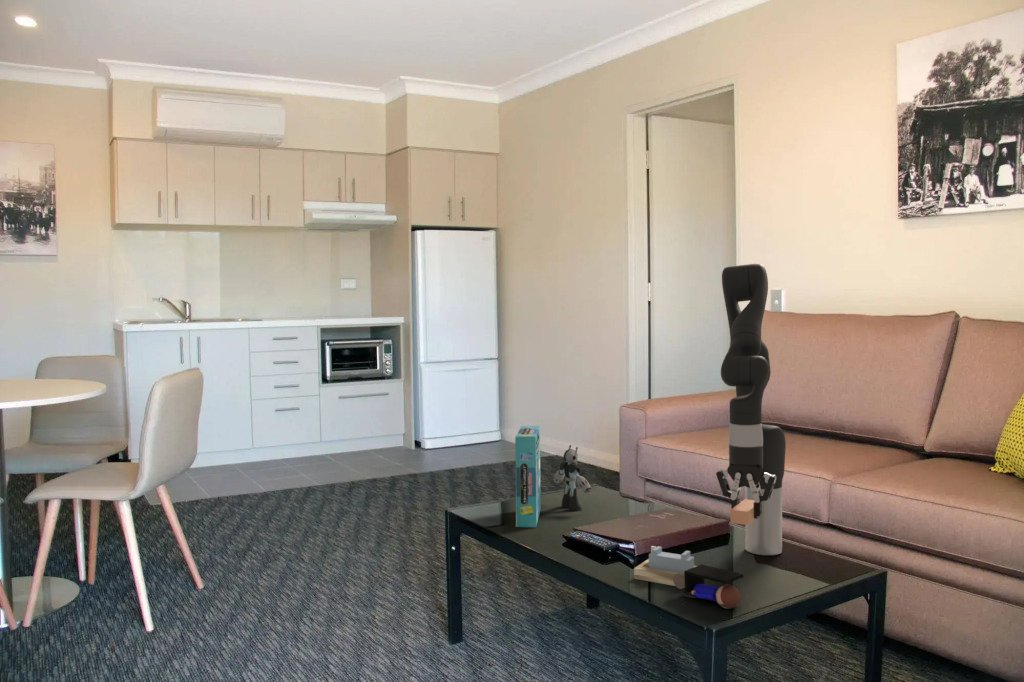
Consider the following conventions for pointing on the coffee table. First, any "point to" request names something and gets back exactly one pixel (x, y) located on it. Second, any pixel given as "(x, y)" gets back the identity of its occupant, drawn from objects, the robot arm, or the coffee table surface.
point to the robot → (571, 480)
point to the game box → (528, 476)
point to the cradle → (653, 574)
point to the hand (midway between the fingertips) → (746, 516)
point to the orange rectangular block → (743, 512)
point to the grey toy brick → (670, 560)
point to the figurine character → (695, 584)
